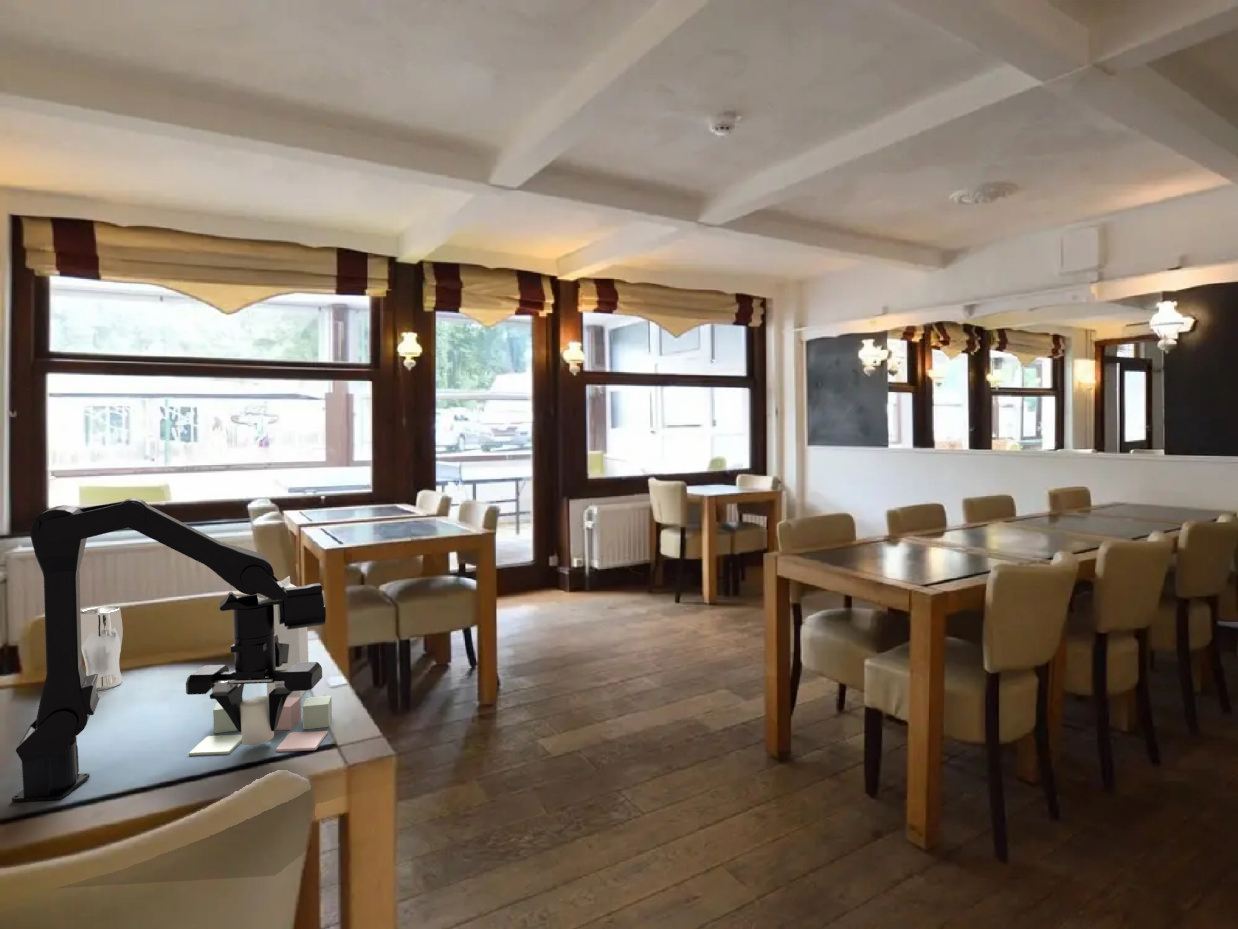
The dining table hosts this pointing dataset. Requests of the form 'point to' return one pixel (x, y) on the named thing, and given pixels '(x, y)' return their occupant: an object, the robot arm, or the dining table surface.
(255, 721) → the cream rounded cylinder
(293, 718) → the cube rose
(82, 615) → the beer glass
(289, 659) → the milk
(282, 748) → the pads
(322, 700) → the sage cube
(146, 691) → the dining table surface
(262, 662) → the robot arm
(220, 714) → the sage cube
